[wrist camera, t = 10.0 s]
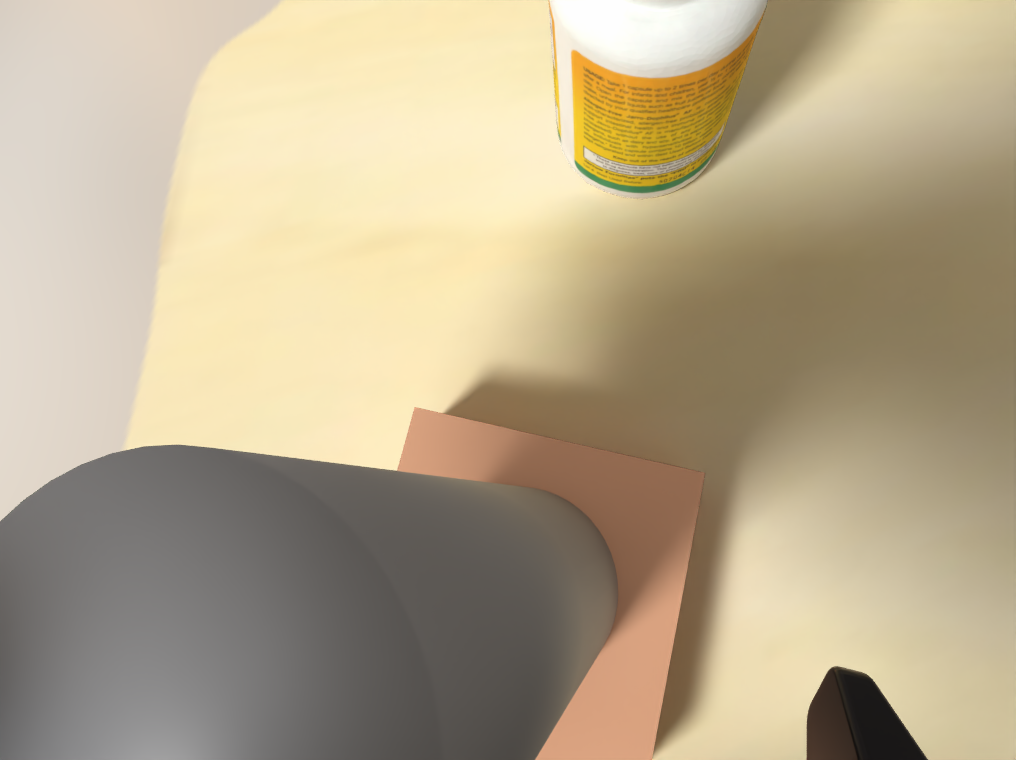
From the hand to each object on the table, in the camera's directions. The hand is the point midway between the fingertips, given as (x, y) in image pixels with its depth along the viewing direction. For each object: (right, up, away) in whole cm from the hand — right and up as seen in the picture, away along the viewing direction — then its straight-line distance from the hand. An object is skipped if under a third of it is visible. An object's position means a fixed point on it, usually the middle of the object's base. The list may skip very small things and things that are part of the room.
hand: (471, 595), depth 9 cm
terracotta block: (+1, -3, +12) cm, 12 cm away
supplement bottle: (+5, +11, +15) cm, 19 cm away
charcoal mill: (+1, -2, +9) cm, 9 cm away
